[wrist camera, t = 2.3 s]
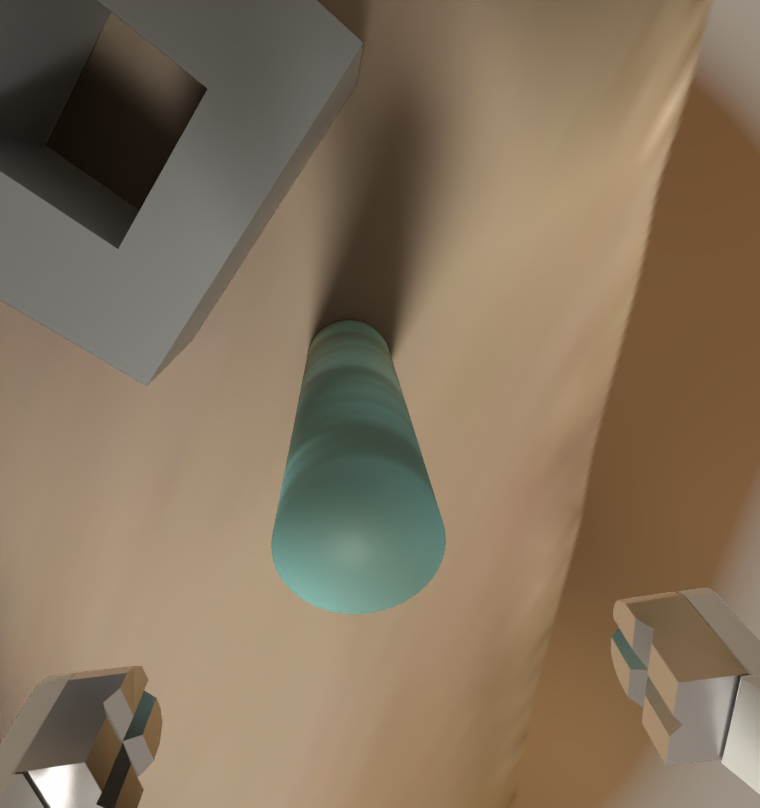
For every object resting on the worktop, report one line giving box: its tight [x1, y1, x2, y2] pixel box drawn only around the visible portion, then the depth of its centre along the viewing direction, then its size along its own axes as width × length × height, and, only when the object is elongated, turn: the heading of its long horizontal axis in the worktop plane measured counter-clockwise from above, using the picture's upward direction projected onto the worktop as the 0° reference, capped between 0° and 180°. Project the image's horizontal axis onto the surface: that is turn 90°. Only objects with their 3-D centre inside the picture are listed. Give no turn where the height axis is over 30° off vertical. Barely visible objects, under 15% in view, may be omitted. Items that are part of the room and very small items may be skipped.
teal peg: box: [271, 320, 446, 614], centre depth 18 cm, size 4×4×14 cm
